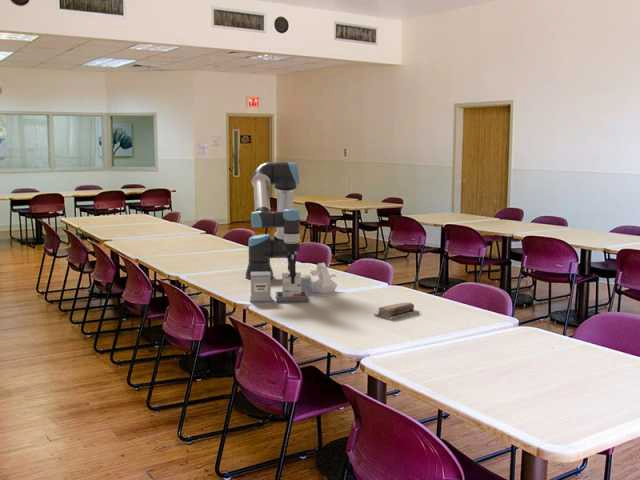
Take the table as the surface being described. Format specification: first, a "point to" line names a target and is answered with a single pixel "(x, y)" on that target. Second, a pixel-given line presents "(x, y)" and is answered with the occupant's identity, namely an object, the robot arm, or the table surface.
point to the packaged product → (396, 311)
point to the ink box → (286, 285)
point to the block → (306, 283)
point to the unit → (260, 287)
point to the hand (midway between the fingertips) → (291, 287)
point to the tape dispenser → (323, 280)
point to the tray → (292, 299)
